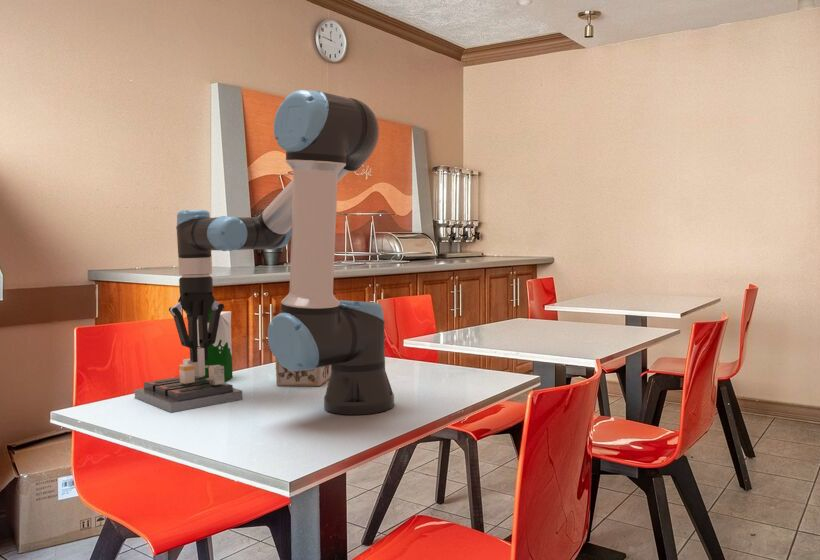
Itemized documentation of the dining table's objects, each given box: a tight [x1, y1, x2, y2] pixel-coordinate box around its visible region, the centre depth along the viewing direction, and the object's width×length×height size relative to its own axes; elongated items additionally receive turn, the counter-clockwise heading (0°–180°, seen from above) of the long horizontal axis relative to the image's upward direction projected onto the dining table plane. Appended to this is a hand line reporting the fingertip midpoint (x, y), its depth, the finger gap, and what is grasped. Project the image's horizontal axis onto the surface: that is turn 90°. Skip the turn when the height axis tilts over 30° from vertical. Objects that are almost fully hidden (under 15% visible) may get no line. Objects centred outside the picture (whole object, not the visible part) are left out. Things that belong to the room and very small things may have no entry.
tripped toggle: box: [178, 363, 195, 384], centre depth 163 cm, size 3×2×4 cm
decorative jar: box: [275, 359, 331, 387], centre depth 179 cm, size 12×12×18 cm
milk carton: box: [197, 306, 233, 383], centre depth 184 cm, size 9×9×20 cm
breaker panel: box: [133, 358, 243, 413], centre depth 163 cm, size 21×17×8 cm
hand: (199, 375), depth 165 cm, fingers closed
